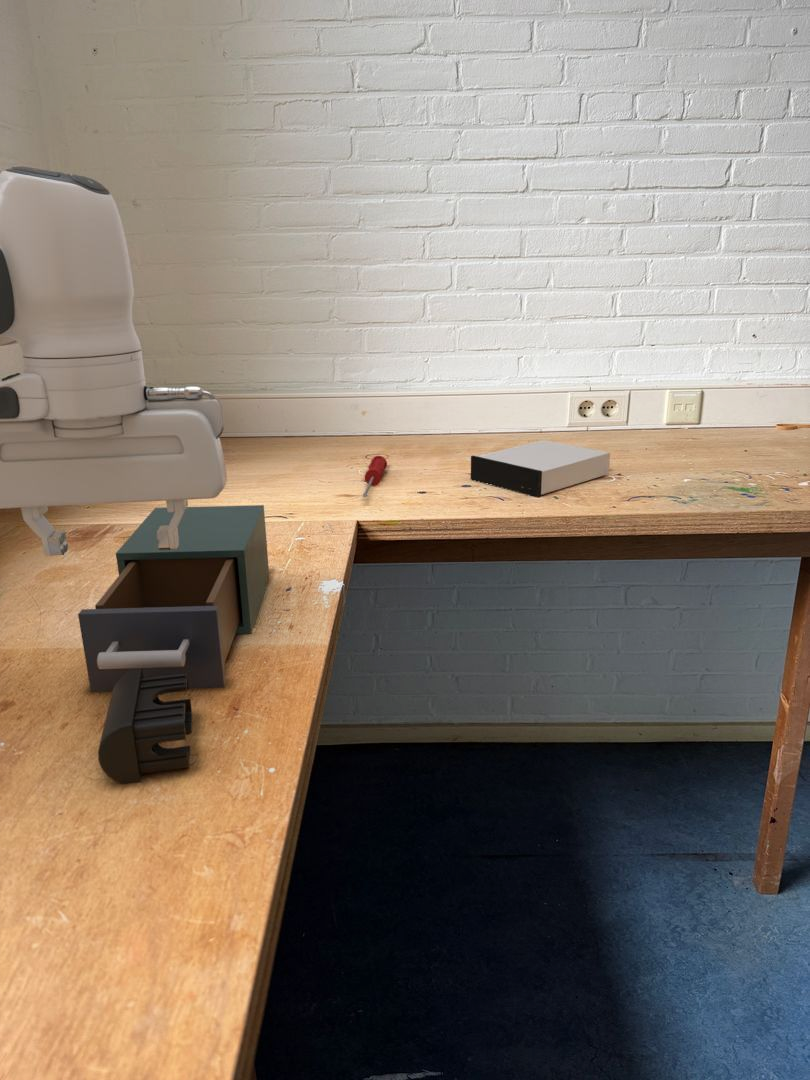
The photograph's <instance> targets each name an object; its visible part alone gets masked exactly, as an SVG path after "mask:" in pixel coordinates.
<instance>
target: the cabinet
mask: <svg viewBox="0 0 810 1080" xmlns="http://www.w3.org/2000/svg"><path fill="white" fill-rule="evenodd" d="M174 513H175V511H174V512H168V511H167V507H154V509H153V510H151V512H150V513H149V514H148V515H147V516H146V518H145V519H144V520H143V521H142V522H141V523H140V525H139V526H138V527H137V528H136V529H135V530H134V531H133V532H132V534H130V536H129V538H127V540H126V541H125V542H124V543H123V544H122V545H121V547H120V548H119V549H118V550H117V551H116V552H115V559H116V564H117V565H116V566H117V571H118V576H119V575H120V574H121V572H122V571H123V570H124V569H125V567H126V566H127V565H128V564H129V562H130V561H131V560H149V559H187V558H225V557H236V565H237V576H238V587H239V598H240V609H241V619H240V622H239V625H238V627H237V630H236V633H235V635H243V634H244V635H245V634H249V635H250V634H252V632H253V629H254V626H255V624H256V620H257V618H258V613H259V611H260V608H261V605H262V602H263V598H264V595H265V593H266V589H267V585H268V583H269V580H270V569H269V555H268V542H267V530H266V514H265V505H264V504H253V505H252V504H251V505H216V506H214V505H213V506H212V505H211V506H210V505H209V506H187V508H186V510H185V512H184V514H183V516H182V518H181V520H180V523H179V525H178V527H177V528H178V536H179V546H178V548H177V549H174V550H159V548H158V543H159V541H158V540H157V533H156V532H157V530H159V527H160V526H164V525H169V524H170V522H171V520H172V517H173V515H174Z"/></svg>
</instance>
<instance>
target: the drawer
mask: <svg viewBox="0 0 810 1080" xmlns="http://www.w3.org/2000/svg"><path fill="white" fill-rule="evenodd" d="M77 617H78V623H79V628H80V635H81V641H82V647H83V652H84V659H85V665H86V670H87V676H88V683H89V690H90V693H101V692H103V693H104V692H105V693H107V692H112V691H113V688H114V686H115V684H116V683H117V681H118V680H119V679H120V678H121V677H122V676H123V675H125V674H126V673H128V672H130V671H133V670H135V669H140V668H142V670H143V677H144V678H147V677H156V676H164V675H173V674H182V673H187V675H188V683H189V689H188V690H199V689H200V690H201V689H202V690H203V689H224V688H226V684H227V677H226V667H225V663H226V660H227V657H228V654H229V652H230V649H231V647H232V643H233V641H234V638H235V636H236V634H235V633H236V630H237V627H238V625H239V622H240V619H241V609H240V598H239V587H238V576H237V565H236V557H225V558H187V559H149V560H131V561H130V562H129V564H128V565H127V566H126V567H125V569H124V570H123V571H122V572H121V574H120V575H119V574H118V576H117V577H116V579H115V580H114V581H113V582H112V584H111V585H110V586H109V588H107V590H106V591H105V592H104V594H103V595H102V596H101V597H100V598H99V600H98V601H97V602H96V604H95V605H94V608H88V609H87V608H86V609H84V608H83V609H81V610H80V611H79V613H78V614H77Z"/></svg>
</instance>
